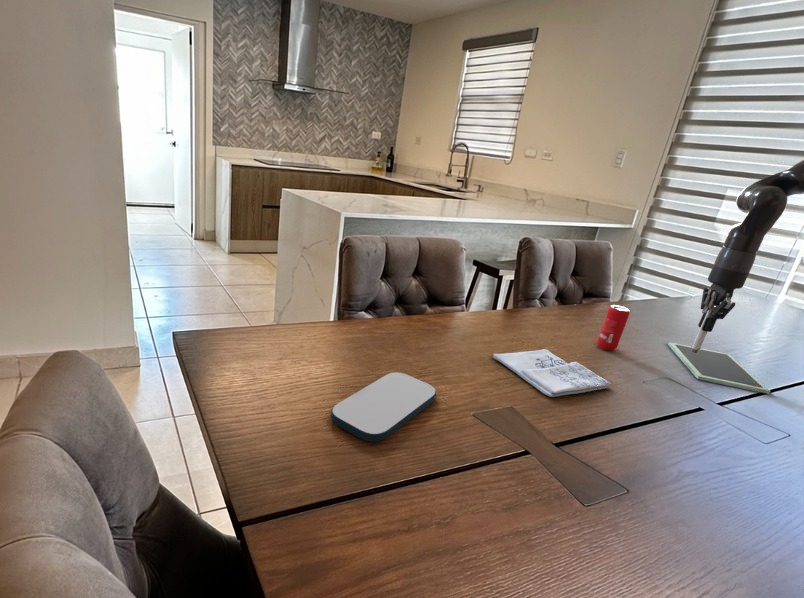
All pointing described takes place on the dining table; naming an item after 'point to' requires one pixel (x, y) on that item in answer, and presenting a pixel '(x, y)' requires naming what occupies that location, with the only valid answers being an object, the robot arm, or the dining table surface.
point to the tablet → (717, 368)
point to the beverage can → (613, 327)
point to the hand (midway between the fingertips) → (704, 329)
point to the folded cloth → (552, 373)
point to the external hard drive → (383, 406)
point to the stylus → (699, 338)
